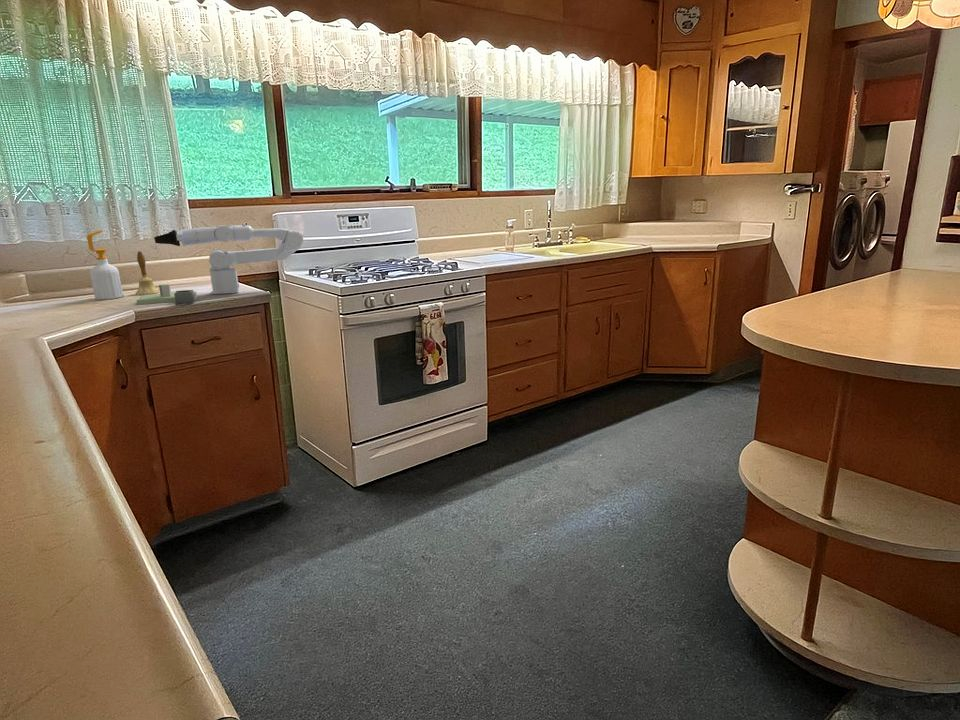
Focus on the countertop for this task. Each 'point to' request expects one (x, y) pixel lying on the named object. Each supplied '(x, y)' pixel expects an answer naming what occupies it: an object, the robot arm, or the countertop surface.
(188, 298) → the collar
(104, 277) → the soap bottle
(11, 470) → the countertop surface
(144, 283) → the hand bell
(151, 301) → the post board
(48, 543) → the countertop surface
